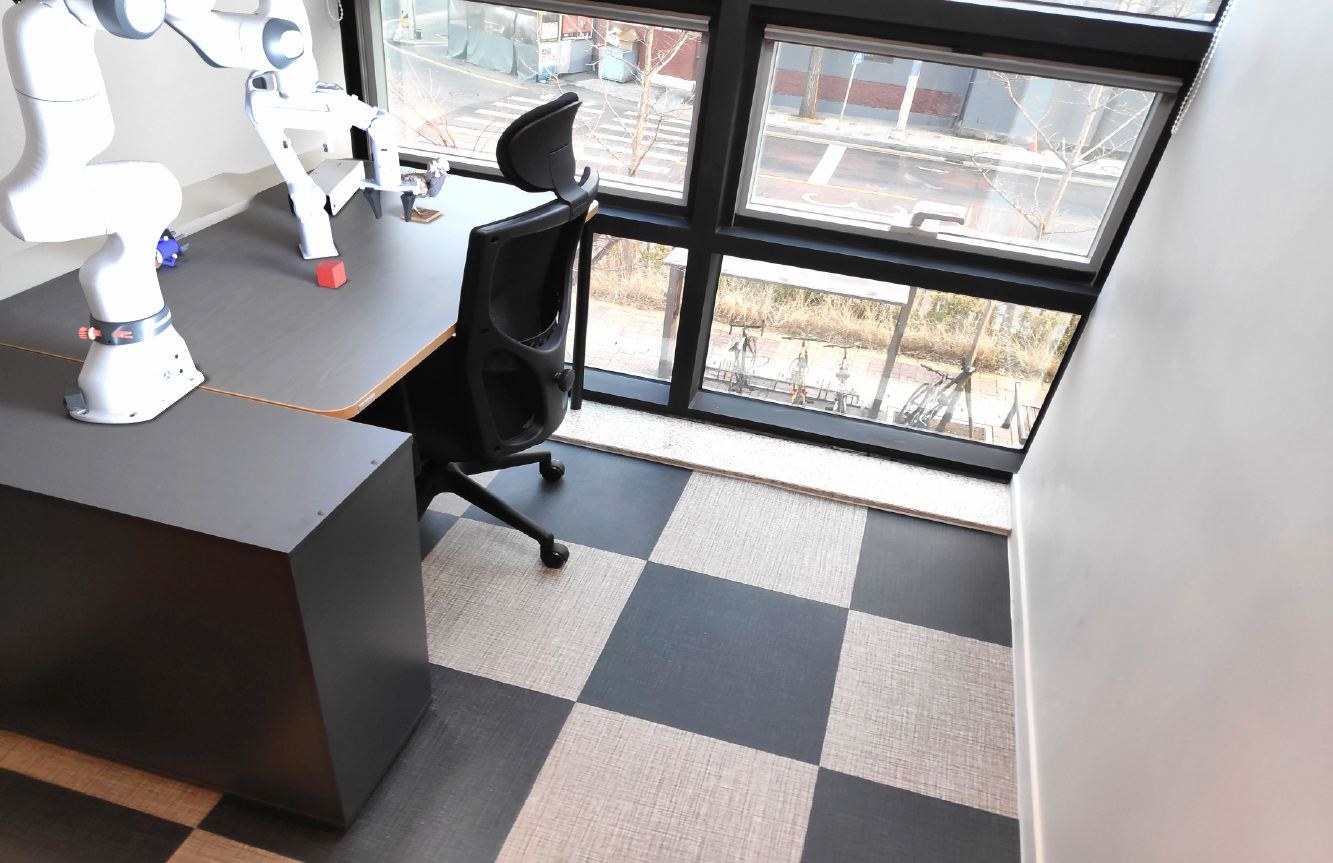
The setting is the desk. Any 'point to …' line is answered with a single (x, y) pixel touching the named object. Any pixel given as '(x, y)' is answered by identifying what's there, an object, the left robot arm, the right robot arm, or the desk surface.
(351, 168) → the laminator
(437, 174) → the stuffed bird
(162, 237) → the character figurine
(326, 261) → the brick
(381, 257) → the desk surface
